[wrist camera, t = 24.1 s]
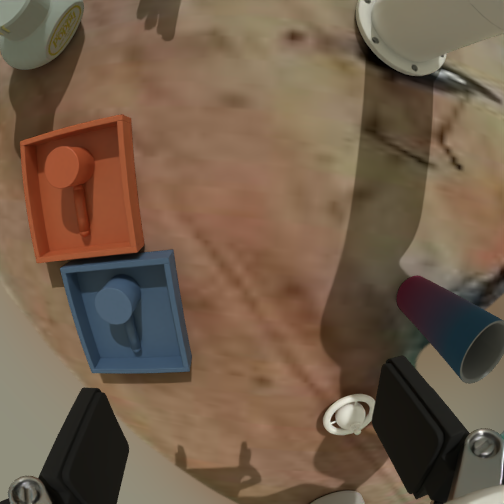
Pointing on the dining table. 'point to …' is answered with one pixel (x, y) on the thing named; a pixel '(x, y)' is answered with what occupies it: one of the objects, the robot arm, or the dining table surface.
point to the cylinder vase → (340, 498)
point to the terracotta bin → (95, 189)
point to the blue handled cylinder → (120, 305)
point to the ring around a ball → (349, 414)
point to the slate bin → (145, 314)
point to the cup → (454, 327)
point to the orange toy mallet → (72, 177)
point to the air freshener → (36, 30)
